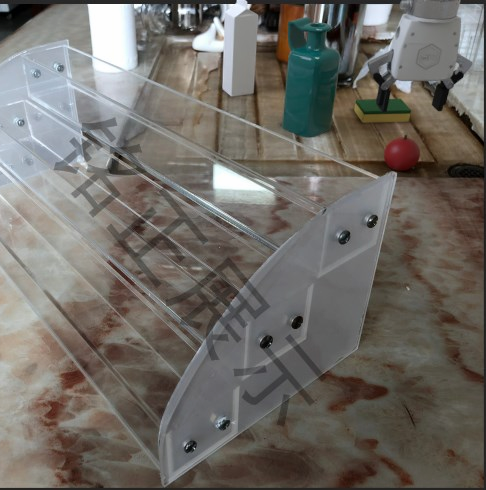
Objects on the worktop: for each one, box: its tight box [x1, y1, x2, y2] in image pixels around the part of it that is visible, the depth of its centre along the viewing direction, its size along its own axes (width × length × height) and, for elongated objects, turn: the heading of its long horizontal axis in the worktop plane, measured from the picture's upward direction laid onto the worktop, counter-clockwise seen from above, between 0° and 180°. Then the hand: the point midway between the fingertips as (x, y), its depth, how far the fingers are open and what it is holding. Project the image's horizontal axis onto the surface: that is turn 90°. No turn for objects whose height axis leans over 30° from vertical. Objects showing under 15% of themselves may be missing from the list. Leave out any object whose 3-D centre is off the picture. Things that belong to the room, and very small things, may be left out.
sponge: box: [354, 98, 412, 124], centre depth 131 cm, size 10×7×3 cm
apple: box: [383, 134, 421, 172], centre depth 110 cm, size 6×6×7 cm
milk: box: [221, 0, 259, 97], centre depth 142 cm, size 6×6×22 cm
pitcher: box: [281, 16, 341, 138], centre depth 122 cm, size 10×8×22 cm
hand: (409, 108), depth 105 cm, fingers open, 9 cm apart
